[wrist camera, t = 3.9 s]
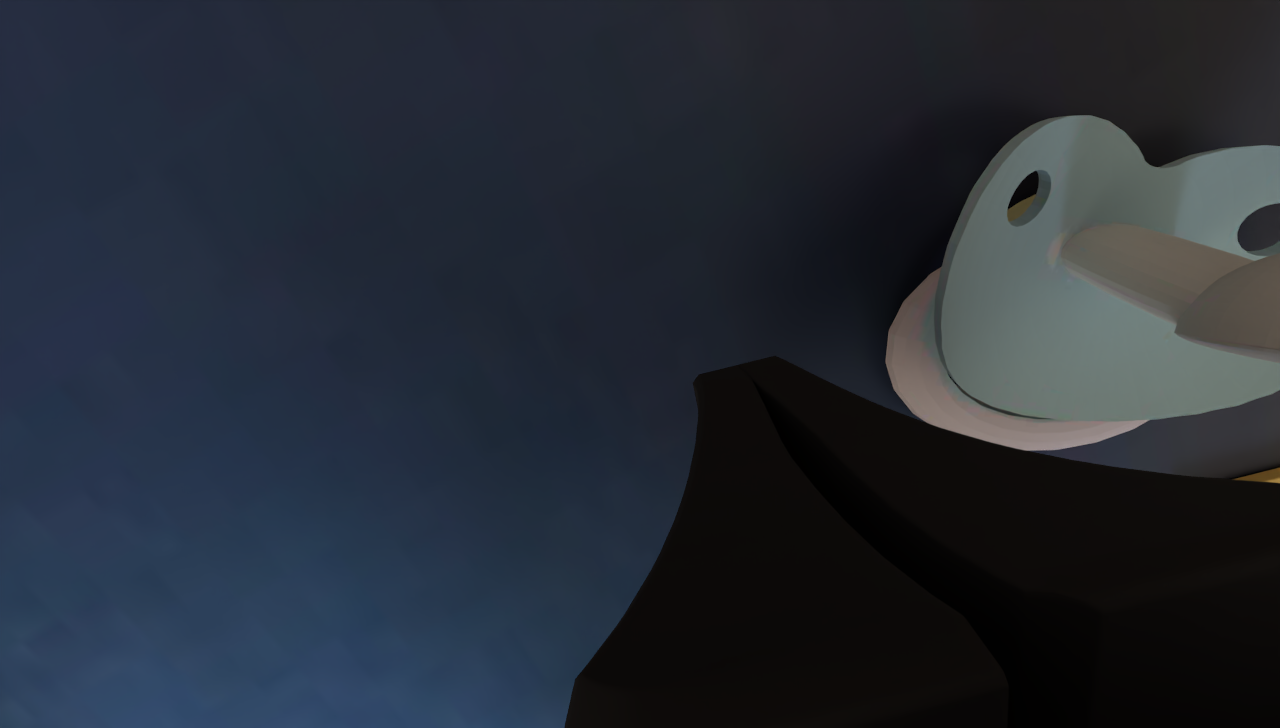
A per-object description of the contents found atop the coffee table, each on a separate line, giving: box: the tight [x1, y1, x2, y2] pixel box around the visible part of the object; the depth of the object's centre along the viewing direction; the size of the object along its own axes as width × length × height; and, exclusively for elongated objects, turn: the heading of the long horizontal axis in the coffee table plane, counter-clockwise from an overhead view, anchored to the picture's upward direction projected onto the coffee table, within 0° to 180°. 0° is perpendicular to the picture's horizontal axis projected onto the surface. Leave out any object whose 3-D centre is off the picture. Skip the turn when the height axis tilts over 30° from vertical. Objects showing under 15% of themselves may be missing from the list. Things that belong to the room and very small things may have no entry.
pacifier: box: [885, 115, 1280, 451], centre depth 10 cm, size 7×6×6 cm
